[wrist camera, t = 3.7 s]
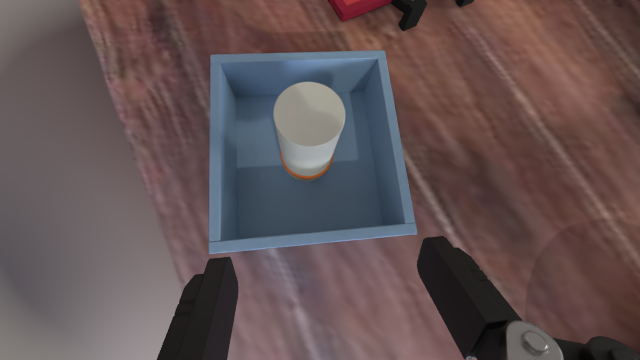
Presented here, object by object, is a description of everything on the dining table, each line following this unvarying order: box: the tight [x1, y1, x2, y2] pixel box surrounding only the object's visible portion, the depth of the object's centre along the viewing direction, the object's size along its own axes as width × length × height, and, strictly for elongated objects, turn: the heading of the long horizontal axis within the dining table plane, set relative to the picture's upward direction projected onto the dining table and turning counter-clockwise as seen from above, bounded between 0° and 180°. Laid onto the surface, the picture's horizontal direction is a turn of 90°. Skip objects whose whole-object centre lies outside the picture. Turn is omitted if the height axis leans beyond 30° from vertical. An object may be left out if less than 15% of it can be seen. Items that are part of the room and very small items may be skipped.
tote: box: [209, 50, 417, 254], centre depth 22 cm, size 16×15×6 cm
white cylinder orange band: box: [273, 82, 345, 182], centre depth 20 cm, size 5×5×9 cm
